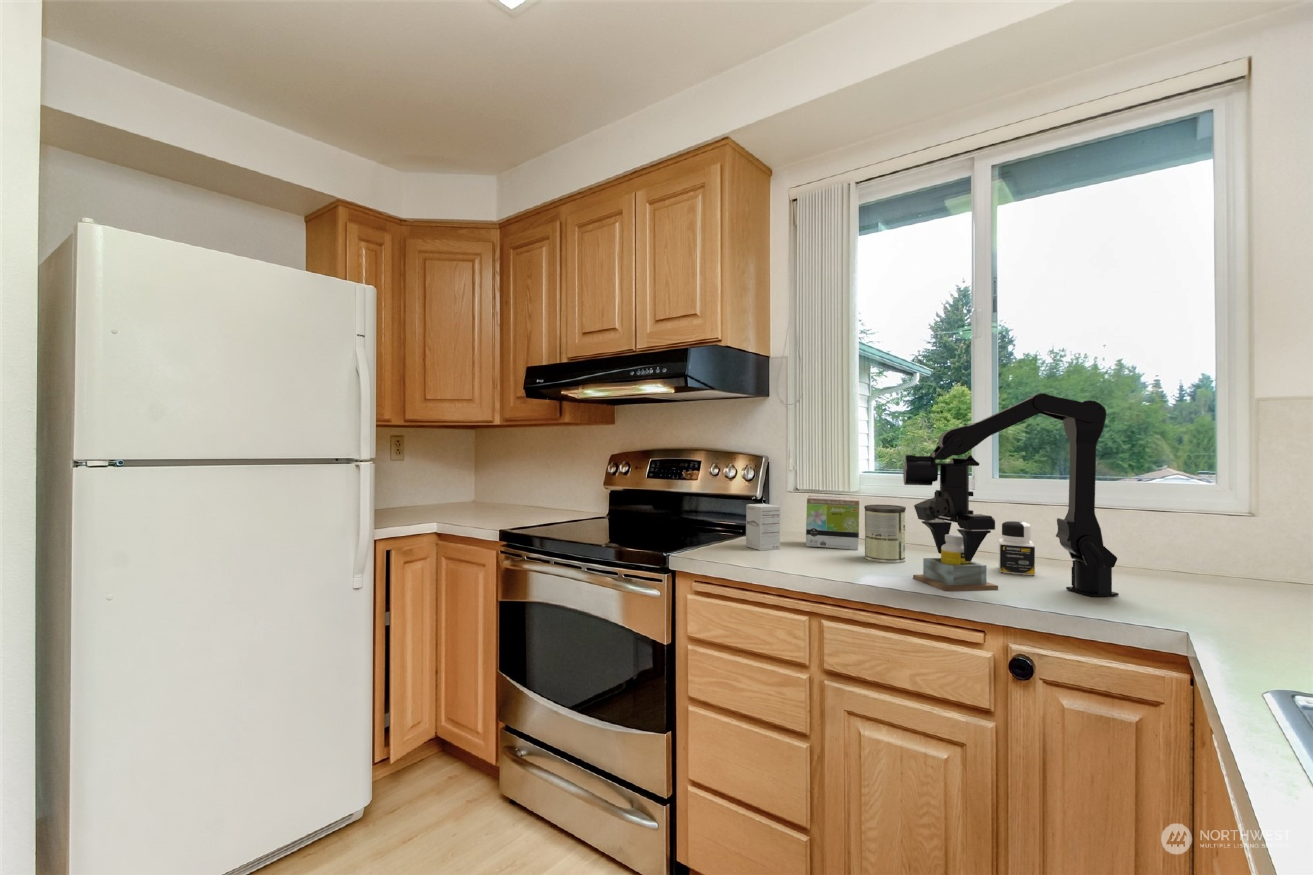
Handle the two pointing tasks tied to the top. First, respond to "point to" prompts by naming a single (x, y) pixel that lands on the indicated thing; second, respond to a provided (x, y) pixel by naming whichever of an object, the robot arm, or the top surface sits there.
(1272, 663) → the top surface
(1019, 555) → the medicine bottle
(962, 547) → the supplement bottle
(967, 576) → the socket board
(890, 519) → the coffee can
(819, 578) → the top surface
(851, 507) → the tea box
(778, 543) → the supplement box
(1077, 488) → the robot arm
